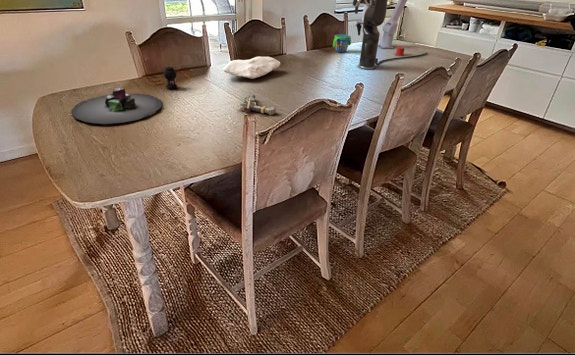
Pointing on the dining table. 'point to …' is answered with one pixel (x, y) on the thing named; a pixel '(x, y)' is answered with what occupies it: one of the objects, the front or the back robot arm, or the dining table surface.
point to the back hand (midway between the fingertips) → (363, 35)
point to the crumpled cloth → (252, 67)
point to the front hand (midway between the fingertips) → (362, 14)
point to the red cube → (400, 51)
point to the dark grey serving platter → (116, 108)
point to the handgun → (255, 106)
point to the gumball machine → (170, 77)
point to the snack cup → (341, 42)
